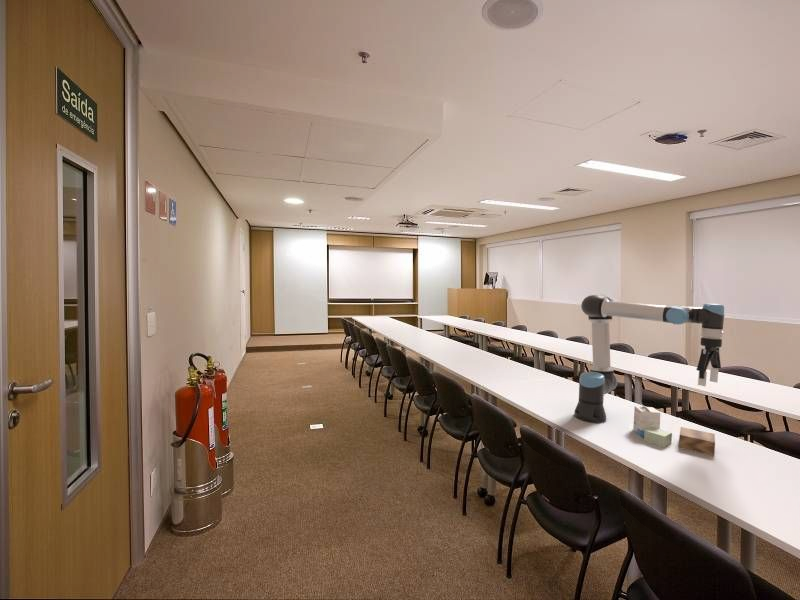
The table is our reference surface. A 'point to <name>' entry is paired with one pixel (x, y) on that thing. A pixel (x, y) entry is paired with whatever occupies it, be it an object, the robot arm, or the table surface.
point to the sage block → (658, 437)
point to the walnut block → (697, 441)
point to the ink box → (645, 419)
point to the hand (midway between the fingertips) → (707, 383)
